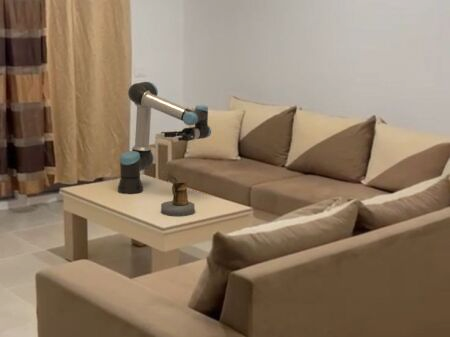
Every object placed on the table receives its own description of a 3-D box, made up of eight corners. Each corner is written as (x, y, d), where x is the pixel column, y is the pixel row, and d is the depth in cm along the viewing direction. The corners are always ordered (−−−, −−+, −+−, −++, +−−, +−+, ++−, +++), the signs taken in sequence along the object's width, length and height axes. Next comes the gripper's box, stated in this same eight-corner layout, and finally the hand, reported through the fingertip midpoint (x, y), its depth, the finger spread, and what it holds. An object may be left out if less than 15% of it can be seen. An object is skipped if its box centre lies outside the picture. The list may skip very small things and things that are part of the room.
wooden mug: (162, 205, 401) (162, 172, 397) (179, 201, 411) (180, 169, 407) (174, 208, 395) (174, 175, 392) (191, 203, 405) (192, 171, 402)
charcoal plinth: (160, 207, 411) (160, 200, 411) (193, 207, 413) (193, 200, 413) (161, 216, 394) (161, 209, 393) (195, 216, 396) (195, 208, 395)
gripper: (206, 143, 425) (181, 147, 409) (174, 137, 440) (148, 141, 424) (206, 130, 424) (181, 134, 407) (174, 124, 439) (148, 128, 423)
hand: (164, 138), depth 416 cm, fingers open, 13 cm apart
